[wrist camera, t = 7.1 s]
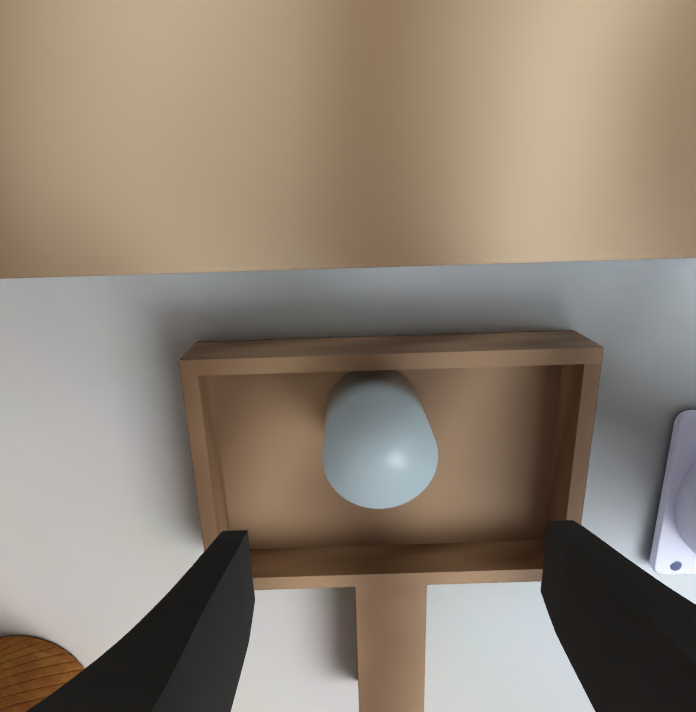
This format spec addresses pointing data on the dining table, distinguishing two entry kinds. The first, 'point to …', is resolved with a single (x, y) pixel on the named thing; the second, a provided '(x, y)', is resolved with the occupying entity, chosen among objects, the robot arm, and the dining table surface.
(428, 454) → the pale blue capsule
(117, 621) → the dining table surface
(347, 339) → the tray
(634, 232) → the counter shelf
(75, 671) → the disposable coffee cup
